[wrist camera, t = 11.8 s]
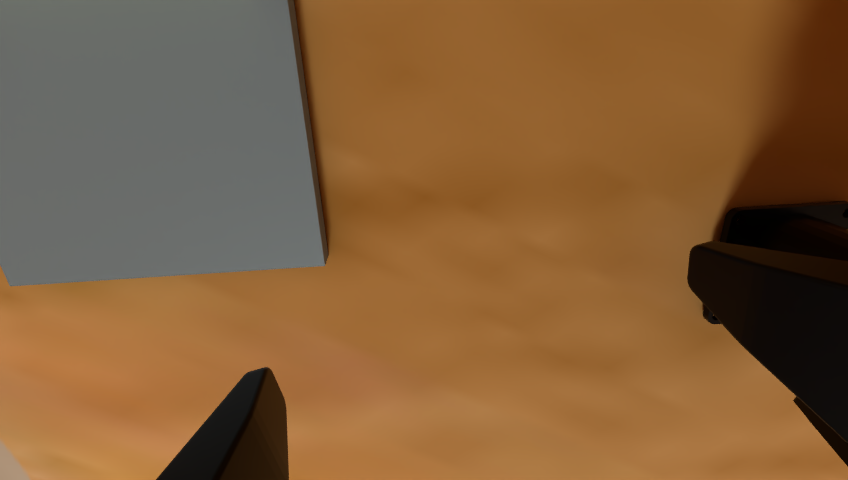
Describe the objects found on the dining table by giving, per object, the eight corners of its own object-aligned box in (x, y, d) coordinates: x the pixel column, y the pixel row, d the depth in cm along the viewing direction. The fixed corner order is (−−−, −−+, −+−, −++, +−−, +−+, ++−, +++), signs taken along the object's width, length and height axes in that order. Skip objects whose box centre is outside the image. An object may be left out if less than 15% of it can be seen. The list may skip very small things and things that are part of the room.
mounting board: (243, -371, 13) (229, -411, 12) (328, 255, 21) (324, 265, 20) (-245, -372, 13) (-307, -414, 12) (30, 274, 20) (10, 286, 19)
